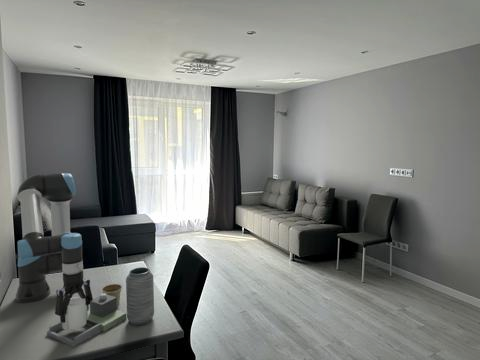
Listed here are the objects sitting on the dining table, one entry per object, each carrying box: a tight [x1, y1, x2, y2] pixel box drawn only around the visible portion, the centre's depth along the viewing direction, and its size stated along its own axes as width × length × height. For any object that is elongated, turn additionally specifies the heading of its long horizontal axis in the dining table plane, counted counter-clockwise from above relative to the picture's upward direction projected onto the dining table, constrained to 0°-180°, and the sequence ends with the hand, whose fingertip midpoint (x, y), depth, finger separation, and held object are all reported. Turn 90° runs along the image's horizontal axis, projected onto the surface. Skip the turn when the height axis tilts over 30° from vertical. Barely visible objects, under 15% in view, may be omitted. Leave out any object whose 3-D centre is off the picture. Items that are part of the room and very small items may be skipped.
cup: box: [66, 296, 87, 331], centre depth 136 cm, size 8×12×10 cm
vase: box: [125, 266, 155, 326], centre depth 144 cm, size 12×12×23 cm
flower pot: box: [101, 283, 123, 307], centre depth 159 cm, size 9×9×9 cm
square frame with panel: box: [46, 292, 127, 347], centre depth 140 cm, size 20×25×10 cm
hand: (75, 323), depth 135 cm, fingers closed on cup, 8 cm apart
